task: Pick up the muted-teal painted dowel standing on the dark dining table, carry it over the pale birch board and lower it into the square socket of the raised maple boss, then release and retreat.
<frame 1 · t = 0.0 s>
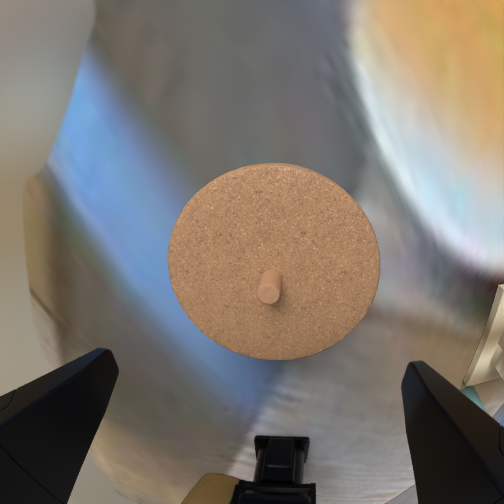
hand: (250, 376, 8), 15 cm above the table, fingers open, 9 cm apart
peg: (463, 395, 25), on the table
lidded jar: (280, 229, 22), on the table
plant pot: (225, 481, 38), on the table
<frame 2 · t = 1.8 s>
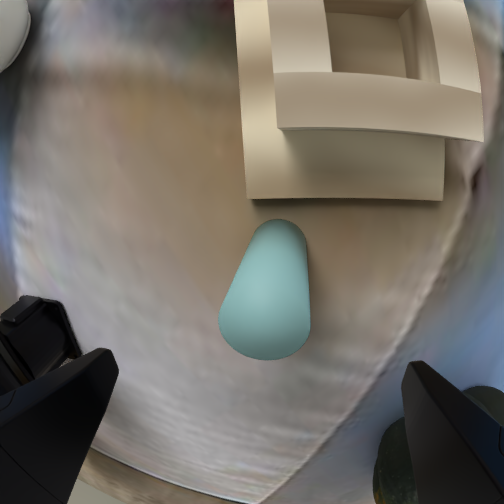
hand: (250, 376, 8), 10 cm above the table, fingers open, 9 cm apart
peg: (278, 245, 17), on the table
socket board: (359, 55, 13), on the table
squash: (439, 416, 22), on the table
lidded jar: (12, 39, 14), on the table
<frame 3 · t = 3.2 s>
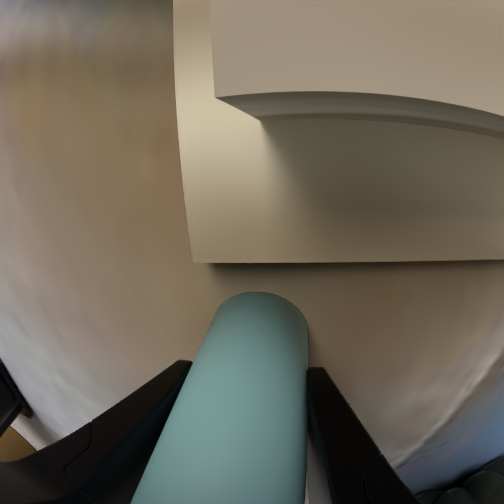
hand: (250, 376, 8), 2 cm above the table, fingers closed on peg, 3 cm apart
peg: (259, 333, 10), on the table, touching gripper
squash: (458, 483, 14), on the table
plant pot: (20, 438, 22), on the table
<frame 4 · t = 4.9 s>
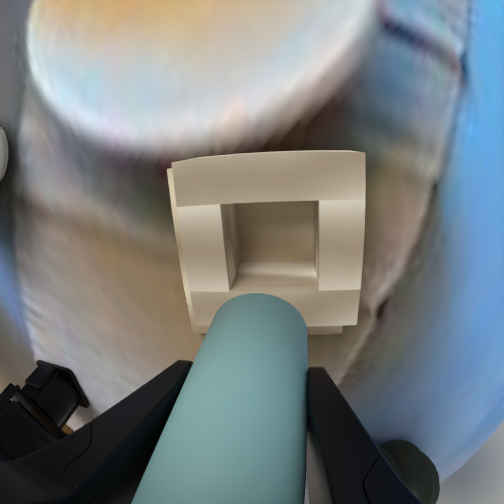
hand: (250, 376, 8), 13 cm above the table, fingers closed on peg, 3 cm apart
peg: (259, 334, 10), point 11 cm above the table, touching gripper
socket board: (276, 222, 19), on the table
squash: (371, 456, 28), on the table
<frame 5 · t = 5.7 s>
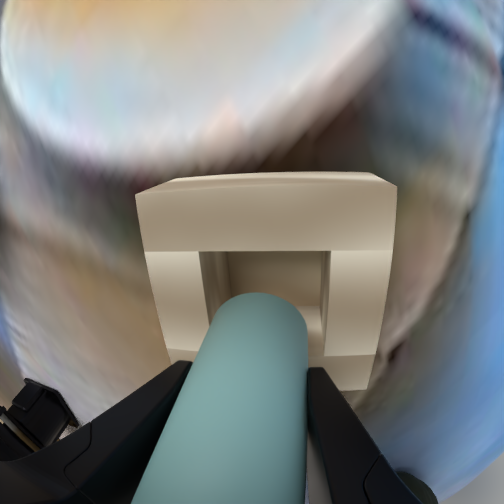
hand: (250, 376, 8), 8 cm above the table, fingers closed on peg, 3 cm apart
peg: (259, 334, 10), point 6 cm above the table, touching gripper
socket board: (275, 257, 16), on the table
squash: (371, 484, 25), on the table
when the fingers open (5 cm above the table, at t = 6.5 s): peg drops 2 cm, resting on socket board.
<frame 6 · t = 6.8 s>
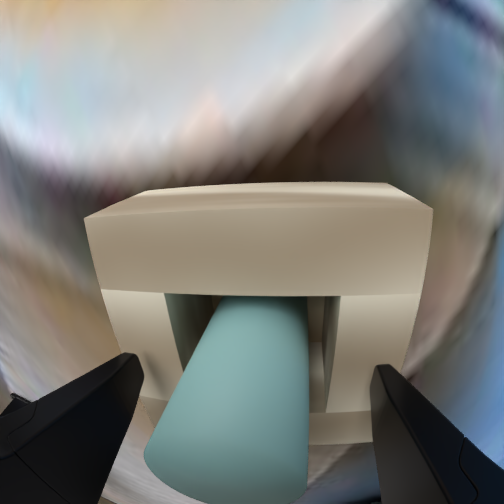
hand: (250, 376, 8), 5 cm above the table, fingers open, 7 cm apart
peg: (266, 298, 12), point 1 cm above the table, touching socket board
socket board: (269, 285, 13), on the table
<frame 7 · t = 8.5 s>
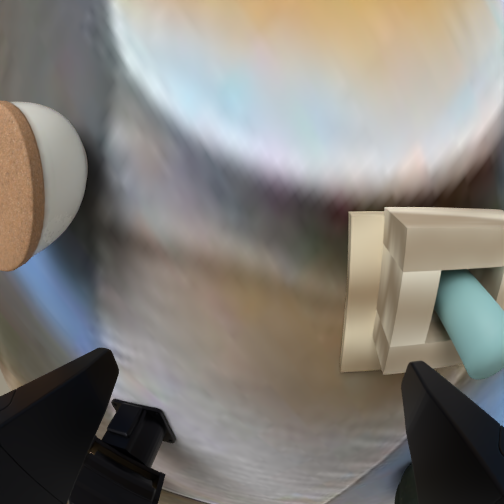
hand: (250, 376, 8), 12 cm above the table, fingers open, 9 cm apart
peg: (441, 275, 17), point 1 cm above the table, touching socket board
socket board: (435, 268, 18), on the table
squash: (443, 456, 27), on the table
lidded jar: (62, 167, 19), on the table
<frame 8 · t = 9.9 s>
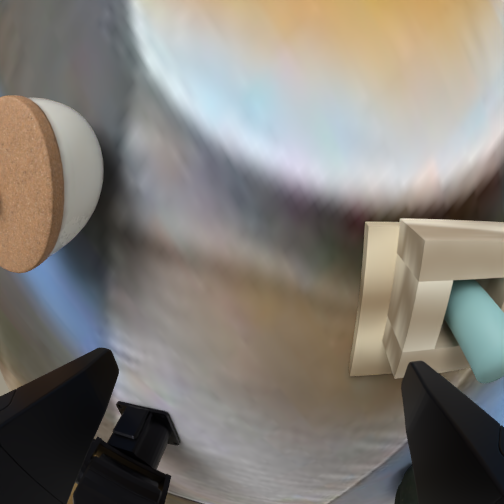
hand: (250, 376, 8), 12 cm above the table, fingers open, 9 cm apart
peg: (449, 284, 17), point 1 cm above the table, touching socket board
socket board: (443, 277, 18), on the table
squash: (441, 458, 27), on the table
lidded jar: (75, 166, 19), on the table
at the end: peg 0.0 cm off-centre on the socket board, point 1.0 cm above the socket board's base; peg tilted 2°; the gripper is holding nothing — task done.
